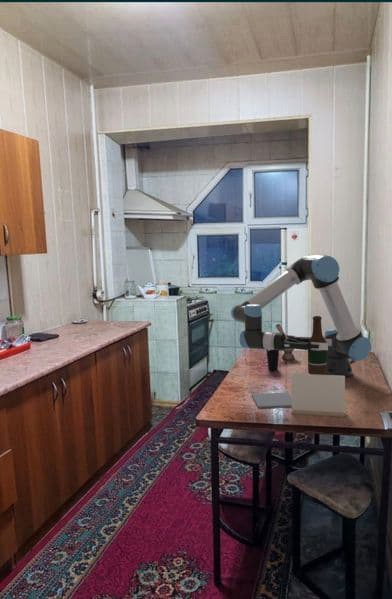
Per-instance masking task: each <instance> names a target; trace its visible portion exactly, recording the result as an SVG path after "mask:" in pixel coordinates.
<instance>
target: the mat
mask: <svg viewBox="0 0 392 599" xmlns="http://www.w3.org/2000/svg"><path fill="white" fill-rule="evenodd" d="M251 396H252V398H253V401H254V402H255V404H256V407H257V409H274V408H292V395H291V394H290V393H289V392H265V393H252V394H251Z"/></svg>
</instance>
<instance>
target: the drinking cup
mask: <svg viewBox="0 0 392 599" xmlns="http://www.w3.org/2000/svg"><path fill="white" fill-rule="evenodd" d="M265 350H266V358H267V369H268V371H271V372H273V371H278V367H279V356H280V350H275V349H274V350H270V351H268V349H265Z"/></svg>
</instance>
